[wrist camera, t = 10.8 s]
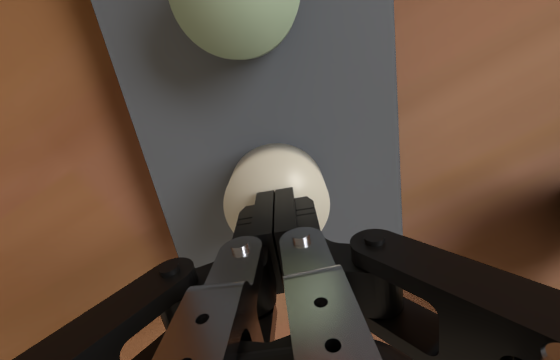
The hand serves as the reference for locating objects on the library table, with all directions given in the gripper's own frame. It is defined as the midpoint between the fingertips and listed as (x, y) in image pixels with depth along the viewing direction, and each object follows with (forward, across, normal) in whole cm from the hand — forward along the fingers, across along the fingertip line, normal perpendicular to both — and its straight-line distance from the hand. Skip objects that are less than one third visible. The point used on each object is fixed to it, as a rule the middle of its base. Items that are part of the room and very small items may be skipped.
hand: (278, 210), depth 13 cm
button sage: (+2, 0, -8) cm, 8 cm away
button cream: (+2, 0, 0) cm, 2 cm away
